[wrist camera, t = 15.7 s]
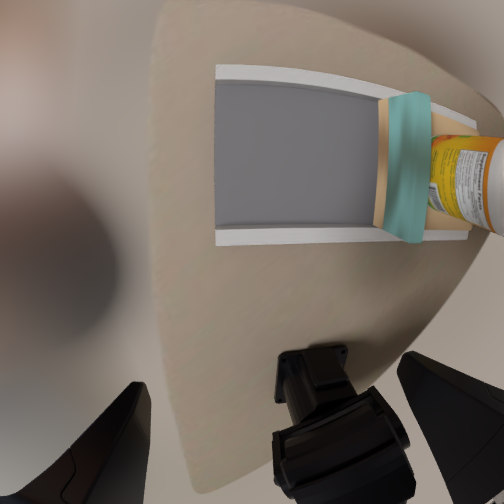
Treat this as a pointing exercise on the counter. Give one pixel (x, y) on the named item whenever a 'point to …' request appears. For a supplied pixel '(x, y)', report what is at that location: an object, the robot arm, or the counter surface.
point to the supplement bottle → (468, 179)
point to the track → (300, 157)
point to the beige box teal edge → (410, 167)
